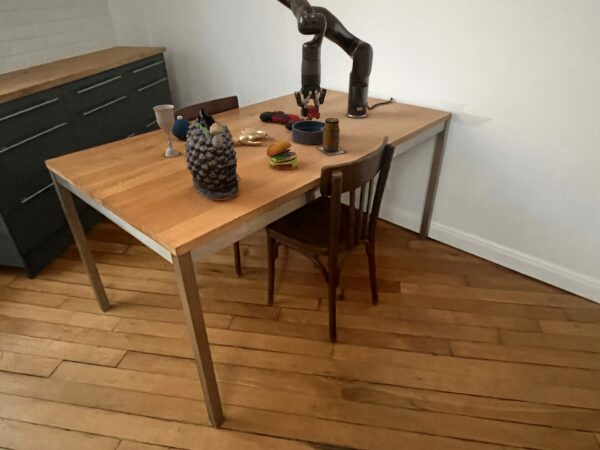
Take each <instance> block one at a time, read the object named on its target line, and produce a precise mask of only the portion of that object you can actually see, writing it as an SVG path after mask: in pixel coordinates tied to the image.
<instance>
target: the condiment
mask: <svg viewBox="0 0 600 450" xmlns="http://www.w3.org/2000/svg"><path fill="white" fill-rule="evenodd" d="M324 123H325V126H324V137H323V143H322V146H321V147H318V149H319V151H321V152H323V153H325V154H326V155H328V156H332V155H339V154H344V153H345V151H344V150H343V149H341V148H340V147H339V146H340V145H339V144H340V131H341V130H340V120H339V118H337V117H328V118H326V119H325V120H324Z"/></svg>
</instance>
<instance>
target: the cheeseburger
mask: <svg viewBox="0 0 600 450" xmlns="http://www.w3.org/2000/svg"><path fill="white" fill-rule="evenodd" d="M291 147H292V144H291V143H290V142H289V141H288V140H282V141H278V142H274V143H271V144H269V146H268V147H267V150H266V156H267V157H269V164H270V165H271V167H272V168H273V169H275V170H290V169H292V170H294V169H297V167H298V154H297V152H295V151H291V150H292V148H291Z"/></svg>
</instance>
